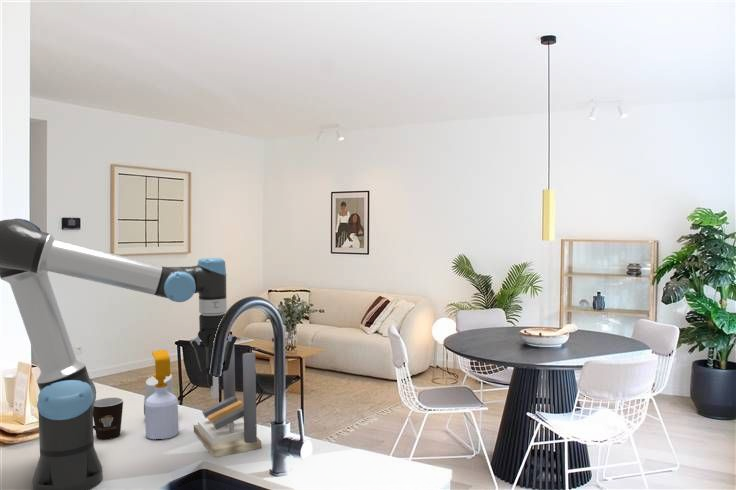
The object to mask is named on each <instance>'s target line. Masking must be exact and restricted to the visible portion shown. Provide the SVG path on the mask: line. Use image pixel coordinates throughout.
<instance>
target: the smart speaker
mask: <svg viewBox="0 0 736 490" xmlns="http://www.w3.org/2000/svg"><path fill="white" fill-rule="evenodd" d="M164 383H167V391H168V392H170V393H172V394H173V395H175V390H174V381H173V375H172V373H170V376H167V377H166V379H164ZM155 384H158V380H156V378H154V377H153V376H150V377H149V378H147V379H146V380H145V386H144V400H143V415H144V416H145V402H146V400H147V398H148V397H149V396H151V395H152V394H154V393H155Z"/></svg>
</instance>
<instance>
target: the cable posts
mask: <svg viewBox="0 0 736 490" xmlns="http://www.w3.org/2000/svg"><path fill="white" fill-rule="evenodd" d="M226 341H227V340H226ZM227 342H228V341H227ZM226 345H227V344H226ZM235 355H236V354H235V344H234V345H233V350H232V354H231V359H230V364H229V368H228V370H227V371H224V372H223V374H222V383H223V384H222V385H223V401H224V400H226V399H228V398H230V397H232V396H235V397H236V369H235V368H236V365H235V364H236V363H235V362H236V361H235ZM256 373H257V371H256V353H255V352H245V353H242V391H243V392H242V394H243V398H242V399H243V402H242V403H243V406H244V416H243V419H244V442H246V443H253V442H256V441H257V437H258V432H257V431H258V429H257V425H258V423H257V377H256V376H257V375H256Z"/></svg>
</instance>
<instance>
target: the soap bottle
mask: <svg viewBox="0 0 736 490" xmlns="http://www.w3.org/2000/svg"><path fill="white" fill-rule="evenodd" d="M151 354H152V356H153V358H154V361H155V362H154V364H155V365H154V366H155V368H154V369H155V373H152V376H153V377H154V378H156V380H158V384H155V393H154V394H152V395H151V396H149V397H148V398H147V400H146V402H145V415H144V420H145V423H144V425H145V428H144V429H145V437H146V438H147V439H150V440H154V439H155V440H156V439H162V440H166V439H171V438H173V437H175V436H177V435H178V434H179V432H180V431H179V402H178V401H179V400H178V397H177V396H176V395H175V394H174V395H173V394H172V393H170V392H168V391H167V383H164V379H166V377H167V376H170V374H171V358H170V354H169V353H168V351H167V350H166V349H161V350H153V351H152V352H151ZM156 441H157V440H156Z"/></svg>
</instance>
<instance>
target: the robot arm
mask: <svg viewBox="0 0 736 490" xmlns="http://www.w3.org/2000/svg"><path fill="white" fill-rule="evenodd" d="M226 271H227V269H226V260H224V259H223V258H222V257H221V258H220V257H207V258H199V259H198V261H197V265H194V266H193V265H192V266H163V265H158V264H155V263H152V262H151V263H150V262H146V261H144V260H138V259H135V258H131V257H128V256H127V257H126V256H123V255H118V254H114V253H110V252H106V251H102V250H99V249H94V248H90V247H87V246H82V245H78V244H74V243H72V242H71V243H69V242H66V241H62V240H59V239H55V238H54V236H53V234H52V233H48V232H45V231H42V230H41V228H40V227H39V226H38V225H37V224H35V223H34V222H32V221H31V220H28V219H23V218H12V219H9V218H8V219H2V220H0V280H2V281H3V282H6V283H8V284H9V285H10V288H11V290H12V294H13V297H14V299H15V302H16V306H17V308H18V312H19V314H20V317H21V319H22V322H23V324H24V325H23V326H24V328H25V331H26V334H27V336H28V340H29V342H30V345H31V349H32V351H33V354H34V357H35V360H36V362H37V365H38V368H39V371H40V374H39V376H38V378H37V379H36V383H37V385H38V389H39V394H38V397H37V403H36V408H37V412H38V413H37V414H38V437H39V441H38V442H39V443H38V444H39V457H38V461H37V464H36V467H35V471H34V474H33V477H32V482H31V483H32V485H31V486H32V490H89V489H91V488H94V487H95V486H97V485H99V484H100V483H101V482H102V480H103V477H104V474H103V472H104V471H103V466H102V463H101V461H100V459H99V456H98V454H97V451H96V449H95V443H94V442H95V441H94V440H95V439H94V437H95V436H94V428H93V426H94V419H93V409H94V403H95V401H96V400H97V389H96V386H95V383H94V382H93V380H92V379H91V378H90V375H89V372H88V369H87V367H86V364H85V363H84V362H82V361H80V360H78V359H77V357H76V354H75V351H74V349H73V346H72V343H71V339H70V336H69V333H68V330H67V328H66V325H65V322H64V318H63V315H62V314H61V310H60V306H59V305H58V301H57V298H56V295H55V293H54V290H53V286H52V284H51V280H50V277H49V274H48V272H50V273H55V274H59V275H64V276H67V277H72V278H77V279H80V280H81V279H82V280H87V281H92V282H95V283H98V284H99V283H100V284H103V285H107V286H113V287H116V288H122V289H126V290H131V291H134V292H139V293H144V294H148V295H152V296H156V297H161V298H165V299H168V300H170V301H172V302H174V303H184V302H187V301H189V300H190V299H192V298H193V296H194V295H195V294H198V313H199V314H200V315H199V316H198V321H199V331H198V332H197V336H196V337H194V338H193V339H192V338H191V339H190V340H189V343H190V345H191V346H192V347H193V350H194V353H195V357H196V360H197V364H198V368H199V371H200V372H201V373H202V374H204V375H205V374H206V382H207V383H206V384H207V385H208V386H209V387H210V397H212V398H213V399H217V398H220V392H219V389H220V387H219V386H220V385H223V384H222V383H223V372H224V371H227V370H228V368H229V364H230V359H231V354H232V350H233V345H234V346H235V344H236V341H237V339H238V337H237V336H235V335H234V334H231V333H229V336H228V340H227V339H226V341H228V342H227V345H226V350H225V357H224V363H223V362H222V364H223V369H222V375H221V376H220V377H215V376H211V375H210V374H209V370H210V361H211V353H212V348H213V349H214V347H213V341H214V338H215V334H216V331H217V328H218V325H219V323H220V321H221V319H222V318H223V316H224V315H225V313H226V312H227V310H228V309H227V308H228V307H227V303H228V301H227V272H226ZM201 342H202V344H203V345H204V346H205V359H204V356H203V354H202V353H203V352H202V350H201V347H200V345H201ZM205 363H206V364H205Z"/></svg>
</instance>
